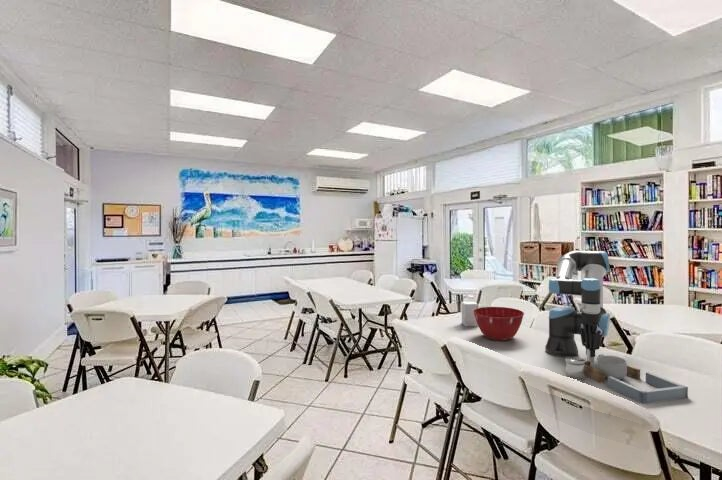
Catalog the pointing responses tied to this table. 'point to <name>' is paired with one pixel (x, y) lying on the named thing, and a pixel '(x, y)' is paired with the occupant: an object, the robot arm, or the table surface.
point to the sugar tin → (575, 368)
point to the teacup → (612, 366)
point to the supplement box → (469, 313)
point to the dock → (666, 391)
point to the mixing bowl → (498, 322)
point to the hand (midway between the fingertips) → (590, 363)
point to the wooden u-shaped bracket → (600, 375)
